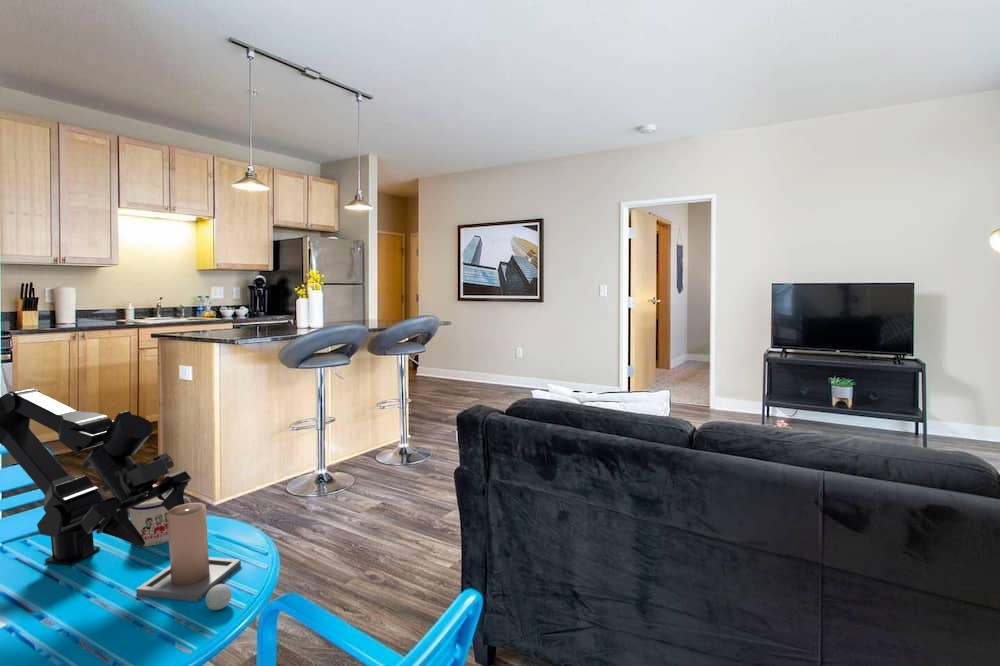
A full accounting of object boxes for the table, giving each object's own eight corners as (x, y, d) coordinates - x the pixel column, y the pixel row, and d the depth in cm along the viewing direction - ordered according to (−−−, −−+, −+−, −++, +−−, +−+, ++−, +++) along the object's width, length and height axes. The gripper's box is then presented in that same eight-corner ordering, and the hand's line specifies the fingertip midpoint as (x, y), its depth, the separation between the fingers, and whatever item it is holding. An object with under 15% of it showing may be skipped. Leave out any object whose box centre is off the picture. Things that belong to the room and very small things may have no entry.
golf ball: (200, 614, 90) (199, 592, 89) (214, 600, 94) (213, 578, 93) (223, 615, 90) (222, 592, 89) (237, 601, 94) (236, 579, 93)
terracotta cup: (165, 588, 97) (161, 518, 95) (178, 570, 103) (174, 504, 101) (203, 583, 98) (199, 514, 97) (213, 566, 104) (210, 501, 103)
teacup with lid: (140, 552, 111) (136, 497, 109) (124, 539, 116) (120, 487, 115) (201, 530, 120) (198, 480, 119) (183, 519, 126) (180, 471, 124)
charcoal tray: (136, 595, 95) (136, 588, 95) (186, 560, 107) (185, 554, 107) (197, 601, 93) (196, 595, 93) (240, 565, 105) (240, 559, 105)
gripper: (88, 460, 92) (141, 531, 90) (182, 431, 110) (227, 490, 108) (59, 498, 95) (109, 568, 93) (154, 464, 113) (198, 522, 111)
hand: (166, 534), depth 101 cm, fingers open, 9 cm apart
